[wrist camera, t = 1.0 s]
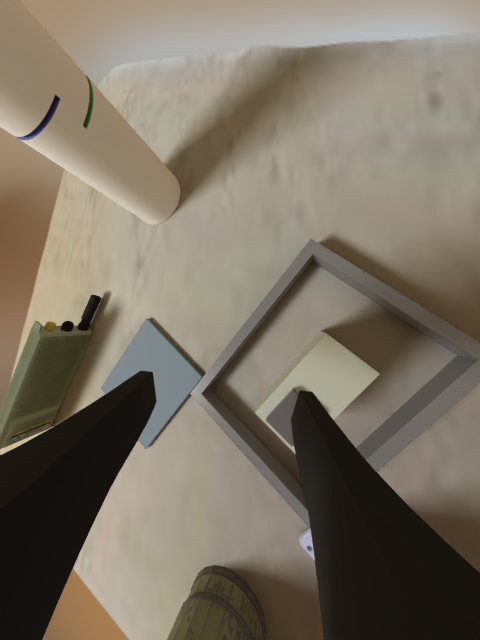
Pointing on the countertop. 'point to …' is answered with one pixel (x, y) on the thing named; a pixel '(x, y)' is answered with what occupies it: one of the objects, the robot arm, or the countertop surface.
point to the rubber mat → (156, 375)
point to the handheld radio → (44, 376)
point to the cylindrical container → (75, 120)
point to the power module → (315, 384)
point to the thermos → (219, 609)
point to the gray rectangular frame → (394, 434)
